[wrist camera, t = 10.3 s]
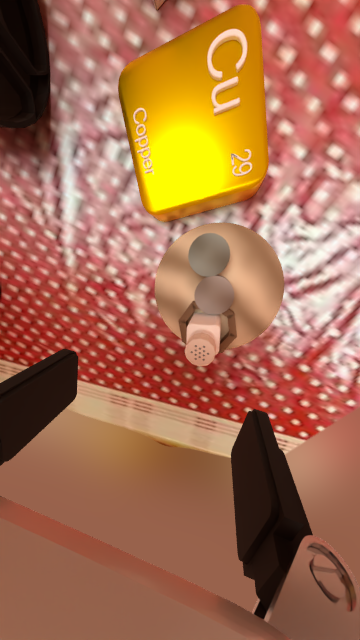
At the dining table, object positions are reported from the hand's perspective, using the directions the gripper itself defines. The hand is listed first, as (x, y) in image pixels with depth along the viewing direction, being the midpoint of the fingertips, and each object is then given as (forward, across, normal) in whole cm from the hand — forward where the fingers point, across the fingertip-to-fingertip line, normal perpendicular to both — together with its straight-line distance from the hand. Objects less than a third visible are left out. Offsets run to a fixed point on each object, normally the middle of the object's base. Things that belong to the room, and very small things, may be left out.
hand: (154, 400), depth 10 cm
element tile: (+22, +5, -21) cm, 30 cm away
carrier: (+21, -2, -4) cm, 21 cm away
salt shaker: (+19, -2, +2) cm, 19 cm away
